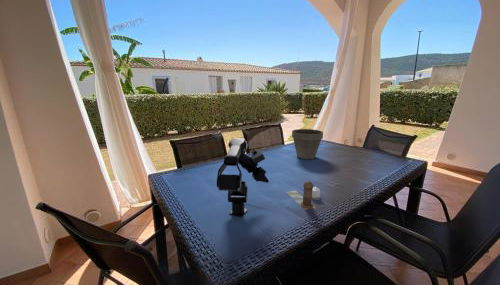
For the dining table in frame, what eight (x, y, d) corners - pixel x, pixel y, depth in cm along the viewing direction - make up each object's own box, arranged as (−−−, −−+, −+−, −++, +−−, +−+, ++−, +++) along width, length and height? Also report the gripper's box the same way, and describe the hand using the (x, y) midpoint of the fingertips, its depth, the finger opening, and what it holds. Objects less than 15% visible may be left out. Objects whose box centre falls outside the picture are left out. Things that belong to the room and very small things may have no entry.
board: (318, 208, 107) (319, 207, 106) (302, 212, 104) (302, 210, 104) (297, 190, 125) (297, 189, 125) (283, 193, 122) (283, 192, 122)
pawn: (311, 209, 105) (313, 185, 101) (299, 206, 107) (301, 182, 104) (313, 203, 110) (315, 180, 106) (302, 201, 112) (303, 178, 109)
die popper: (323, 199, 115) (324, 190, 114) (311, 202, 113) (312, 192, 111) (315, 193, 121) (316, 184, 120) (304, 195, 119) (305, 186, 118)
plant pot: (298, 150, 202) (299, 127, 196) (325, 155, 188) (327, 130, 182) (285, 157, 182) (286, 132, 177) (315, 163, 168) (317, 135, 163)
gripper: (261, 152, 97) (283, 172, 103) (248, 142, 114) (267, 160, 120) (245, 171, 96) (268, 191, 102) (234, 158, 113) (254, 176, 120)
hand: (264, 178), depth 111 cm, fingers open, 9 cm apart
